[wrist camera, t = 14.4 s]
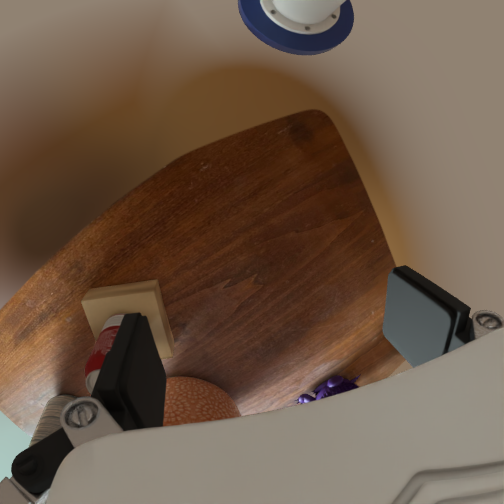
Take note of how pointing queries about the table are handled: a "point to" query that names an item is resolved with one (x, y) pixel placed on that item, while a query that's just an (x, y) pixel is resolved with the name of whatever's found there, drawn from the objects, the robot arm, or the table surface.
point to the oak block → (131, 310)
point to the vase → (50, 417)
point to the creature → (330, 388)
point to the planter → (196, 402)
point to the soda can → (101, 349)
